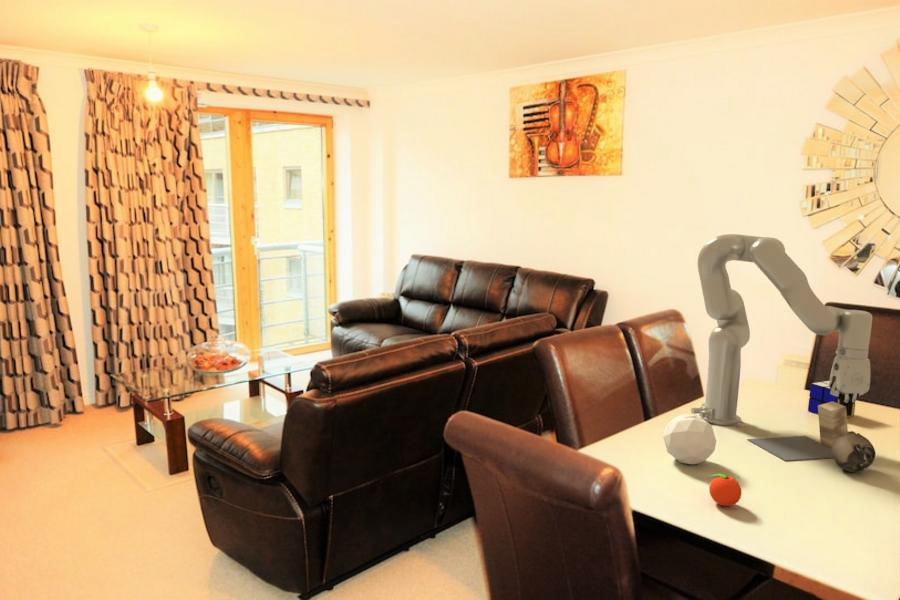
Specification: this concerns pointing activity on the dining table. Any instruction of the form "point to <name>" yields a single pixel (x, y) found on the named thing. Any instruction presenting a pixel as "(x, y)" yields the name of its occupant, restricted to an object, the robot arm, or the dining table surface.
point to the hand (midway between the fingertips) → (844, 414)
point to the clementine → (725, 490)
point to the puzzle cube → (822, 397)
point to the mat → (794, 448)
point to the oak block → (832, 422)
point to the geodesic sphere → (689, 439)
